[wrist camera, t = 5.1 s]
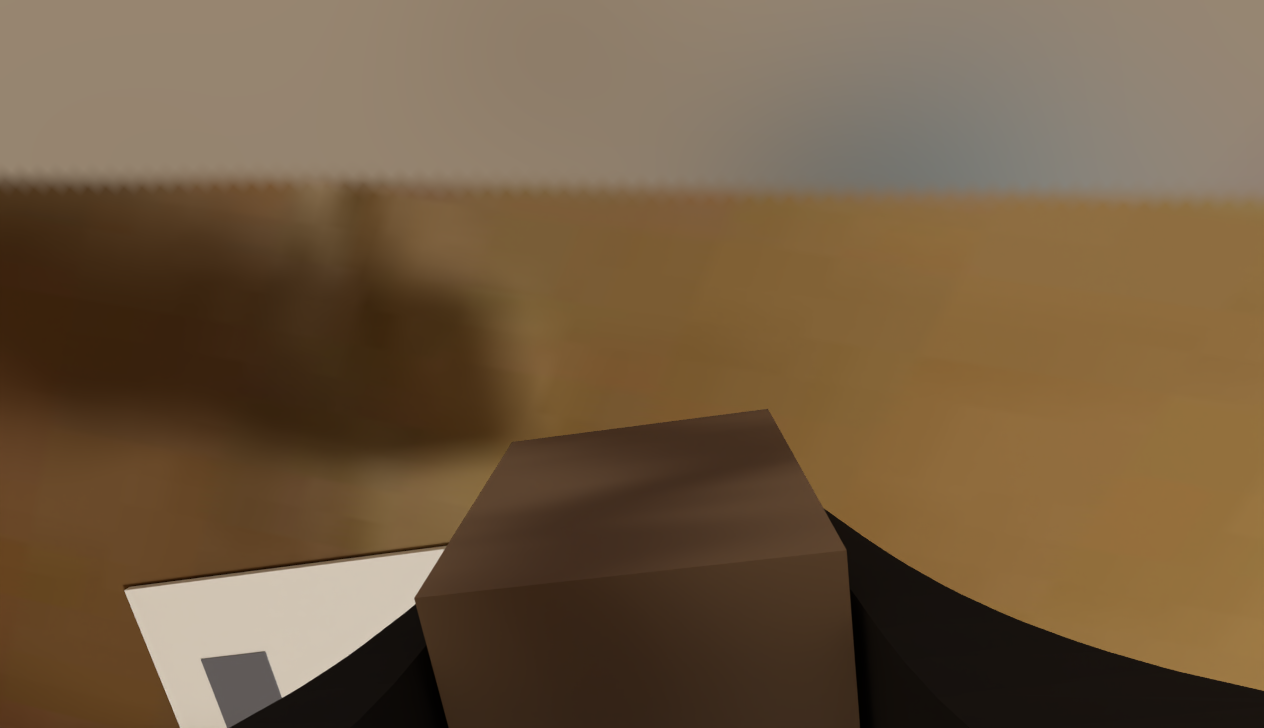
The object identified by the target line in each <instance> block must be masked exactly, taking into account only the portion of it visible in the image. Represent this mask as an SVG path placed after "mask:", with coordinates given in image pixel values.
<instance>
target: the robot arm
mask: <svg viewBox="0 0 1264 728" xmlns="http://www.w3.org/2000/svg"><path fill="white" fill-rule="evenodd" d="M824 511H825V512H826V514H827V516H828V518H829V519H830V521H831V523H832V525H833V527H834V528H835V530H836V532H837V534H838V536H839V537H840V539H841V541H842V543H843V545H844V546H845V548H846V550H847V562H848V576H849V589H850V602H851V615H852V628H853V642H854V655H855V668H856V681H857V694H858V708H859V721H860V728H1264V691H1261V690H1257V689H1253V688H1248V687H1244V686H1239V685H1235V684H1231V683H1226V682H1222V681H1217V680H1213V679H1209V678H1204V677H1200V676H1196V675H1191V674H1187V673H1182V672H1178V671H1174V670H1170V669H1167V668H1163V667H1159V666H1156V665H1152V664H1149V663H1145V662H1142V661H1138V660H1135V659H1132V658H1128V657H1125V656H1121V655H1118V654H1114V653H1111V652H1107V651H1104V650H1101V649H1098V648H1095V647H1092V646H1089V645H1086V644H1083V643H1080V642H1077V641H1074V640H1071V639H1068V638H1065V637H1062V636H1060V635H1057V634H1054V633H1052V632H1049V631H1046V630H1044V629H1041V628H1038V627H1036V626H1033V625H1030V624H1027V623H1025V622H1022V621H1020V620H1017V619H1015V618H1013V617H1010V616H1008V615H1005V614H1003V613H1001V612H998V611H996V610H994V609H992V608H990V607H987V606H985V605H983V604H981V603H979V602H977V601H974V600H972V599H970V598H968V597H966V596H964V595H961V594H959V593H957V592H955V591H953V590H952V589H950V588H948V587H946V586H944V585H942V584H940V583H938V582H936V581H935V580H933V579H931V578H929V577H928V576H926V575H924V574H922V573H920V572H919V571H917V570H915V569H913V568H912V567H910V566H908V565H907V564H905V563H903V562H902V561H900V560H898V559H897V558H895V557H894V556H892V555H890V554H889V553H887V552H886V551H884V550H883V549H881V548H880V547H878V546H877V545H875V544H874V543H872V542H871V541H869V540H868V539H866V538H865V537H863V536H862V535H860V534H859V533H858V532H856V531H855V530H853V529H852V528H850V527H849V526H848V525H846V524H845V523H843V522H842V521H841V520H839V519H838V518H836V517H835V516H834V515H832V514H831V513H829V512H828V511H827V510H825V509H824ZM230 728H449V727H448V723H447V720H446V716H445V712H444V708H443V705H442V701H441V697H440V693H439V690H438V686H437V682H436V678H435V675H434V671H433V667H432V663H431V660H430V656H429V652H428V649H427V645H426V641H425V637H424V634H423V630H422V626H421V622H420V619H419V615H418V611H417V607H416V604H415V605H414V606H412V607H411V608H410V609H409V610H408V611H406V612H405V613H404V614H403V615H401V616H400V617H399V618H397V619H396V620H395V621H393V622H392V623H391V624H390V625H388V626H387V627H386V628H384V629H383V630H382V631H380V632H379V633H378V634H376V635H375V636H374V637H373V638H371V639H370V640H369V641H367V642H366V643H365V644H363V645H362V646H361V647H359V648H358V649H357V650H355V651H354V652H352V653H351V654H350V655H348V656H347V657H345V658H344V659H342V660H341V661H340V662H338V663H337V664H335V665H334V666H332V667H331V668H329V669H328V670H326V671H325V672H323V673H321V674H320V675H318V676H317V677H315V678H314V679H312V680H311V681H309V682H308V683H306V684H304V685H303V686H301V687H300V688H298V689H296V690H295V691H293V692H291V693H290V694H288V695H286V696H285V697H283V698H281V699H279V700H277V701H276V702H274V703H272V704H270V705H269V706H267V707H265V708H263V709H262V710H260V711H258V712H256V713H254V714H253V715H251V716H249V717H247V718H246V719H244V720H242V721H240V722H239V723H237V724H235V725H233V726H231V727H230Z"/></svg>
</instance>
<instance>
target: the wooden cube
mask: <svg viewBox="0 0 1264 728" xmlns="http://www.w3.org/2000/svg"><path fill="white" fill-rule="evenodd" d="M414 600H415V604H416V607H417V611H418V615H419V619H420V622H421V626H422V630H423V634H424V637H425V641H426V645H427V649H428V652H429V656H430V660H431V663H432V667H433V671H434V675H435V678H436V682H437V686H438V690H439V693H440V697H441V701H442V705H443V708H444V712H445V716H446V720H447V723H448V727H449V728H860V721H859V708H858V694H857V681H856V668H855V655H854V642H853V628H852V615H851V602H850V589H849V576H848V562H847V550H846V548H845V546H844V545H843V543H842V541H841V539H840V537H839V536H838V534H837V532H836V530H835V528H834V527H833V525H832V523H831V521H830V519H829V518H828V516H827V514H826V512H825V511H824V509H823V507H822V505H821V503H820V502H819V500H818V498H817V496H816V494H815V493H814V491H813V489H812V487H811V485H810V484H809V482H808V480H807V478H806V476H805V475H804V473H803V471H802V469H801V467H800V466H799V464H798V462H797V460H796V458H795V457H794V455H793V453H792V451H791V449H790V448H789V446H788V444H787V442H786V440H785V439H784V437H783V435H782V433H781V432H780V430H779V428H778V426H777V424H776V423H775V421H774V419H773V417H772V415H771V414H770V412H769V410H768V409H764V410H756V411H749V412H741V413H733V414H725V415H718V416H710V417H702V418H695V419H687V420H679V421H671V422H664V423H656V424H648V425H640V426H633V427H625V428H617V429H609V430H602V431H594V432H586V433H579V434H571V435H563V436H555V437H548V438H540V439H532V440H524V441H517V442H512V443H511V445H510V446H509V448H508V449H507V451H506V453H505V454H504V456H503V457H502V459H501V461H500V462H499V464H498V465H497V467H496V469H495V470H494V472H493V473H492V475H491V476H490V478H489V480H488V481H487V483H486V484H485V486H484V488H483V489H482V491H481V492H480V494H479V496H478V497H477V499H476V500H475V502H474V504H473V505H472V507H471V508H470V510H469V512H468V513H467V515H466V516H465V518H464V519H463V521H462V523H461V524H460V526H459V527H458V529H457V531H456V532H455V534H454V535H453V537H452V539H451V540H450V542H449V543H448V545H447V547H446V548H445V550H444V551H443V553H442V554H441V556H440V558H439V559H438V561H437V562H436V564H435V566H434V567H433V569H432V570H431V572H430V574H429V575H428V577H427V578H426V580H425V582H424V583H423V585H422V586H421V588H420V589H419V591H418V593H417V594H416V596H415V597H414Z"/></svg>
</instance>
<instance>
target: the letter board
mask: <svg viewBox="0 0 1264 728" xmlns="http://www.w3.org/2000/svg"><path fill="white" fill-rule="evenodd" d="M446 547H447V546H440V547H433V548H425V549H417V550H410V551H402V552H394V553H387V554H379V555H371V556H364V557H356V558H348V559H340V560H333V561H325V562H317V563H310V564H302V565H294V566H287V567H279V568H271V569H264V570H256V571H248V572H241V573H233V574H225V575H217V576H210V577H202V578H194V579H187V580H179V581H171V582H164V583H156V584H148V585H141V586H133V587H128V588H127V589H126V590H124V591H125V593H126V596H127V598H128V601H129V603H130V606H131V608H132V611H133V613H134V615H135V618H136V620H137V623H138V625H139V628H140V630H141V633H142V635H143V638H144V640H145V642H146V645H147V647H148V650H149V652H150V655H151V657H152V660H153V662H154V665H155V667H156V669H157V672H158V674H159V677H160V679H161V682H162V684H163V687H164V689H165V692H166V694H167V696H168V699H169V701H170V704H171V706H172V709H173V711H174V714H175V716H176V718H177V721H178V723H179V726H180V728H230V727H231V726H233V725H235V724H237V723H239V722H240V721H242V720H244V719H246V718H247V717H249V716H251V715H253V714H254V713H256V712H258V711H260V710H262V709H263V708H265V707H267V706H269V705H270V704H272V703H274V702H276V701H277V700H279V699H281V698H283V697H285V696H286V695H288V694H290V693H291V692H293V691H295V690H296V689H298V688H300V687H301V686H303V685H304V684H306V683H308V682H309V681H311V680H312V679H314V678H315V677H317V676H318V675H320V674H321V673H323V672H325V671H326V670H328V669H329V668H331V667H332V666H334V665H335V664H337V663H338V662H340V661H341V660H342V659H344V658H345V657H347V656H348V655H350V654H351V653H352V652H354V651H355V650H357V649H358V648H359V647H361V646H362V645H363V644H365V643H366V642H367V641H369V640H370V639H371V638H373V637H374V636H375V635H376V634H378V633H379V632H380V631H382V630H383V629H384V628H386V627H387V626H388V625H390V624H391V623H392V622H393V621H395V620H396V619H397V618H399V617H400V616H401V615H403V614H404V613H405V612H406V611H408V610H409V609H410V608H411V607H412V606H414V605H415V600H414V597H415V596H416V594H417V593H418V591H419V589H420V588H421V586H422V585H423V583H424V582H425V580H426V578H427V577H428V575H429V574H430V572H431V570H432V569H433V567H434V566H435V564H436V562H437V561H438V559H439V558H440V556H441V554H442V553H443V551H444V550H445V548H446Z"/></svg>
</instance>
